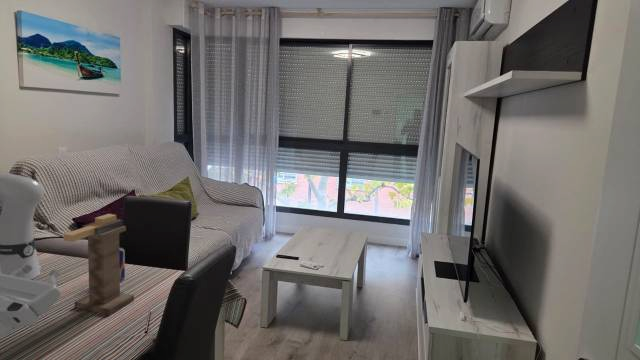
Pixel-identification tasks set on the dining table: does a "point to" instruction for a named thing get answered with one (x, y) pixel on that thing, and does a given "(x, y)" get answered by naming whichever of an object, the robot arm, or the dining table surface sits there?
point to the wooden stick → (89, 228)
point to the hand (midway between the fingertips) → (43, 268)
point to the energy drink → (122, 263)
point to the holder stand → (104, 271)
